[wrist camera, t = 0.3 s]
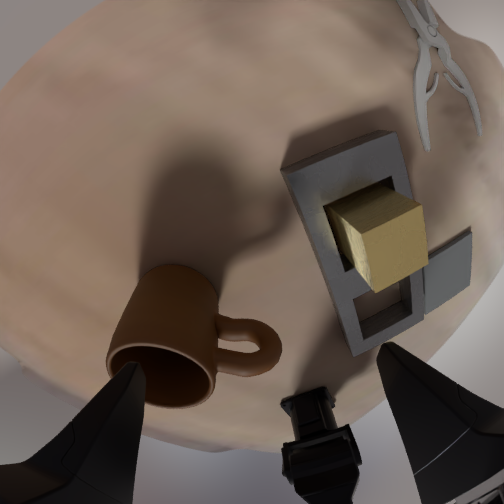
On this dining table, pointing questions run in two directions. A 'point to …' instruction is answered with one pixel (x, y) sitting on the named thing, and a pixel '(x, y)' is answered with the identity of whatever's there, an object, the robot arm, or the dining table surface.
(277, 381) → the dining table surface
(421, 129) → the pliers
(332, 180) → the grey flat frame
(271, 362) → the mug
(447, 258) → the pad
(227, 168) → the dining table surface
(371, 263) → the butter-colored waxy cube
